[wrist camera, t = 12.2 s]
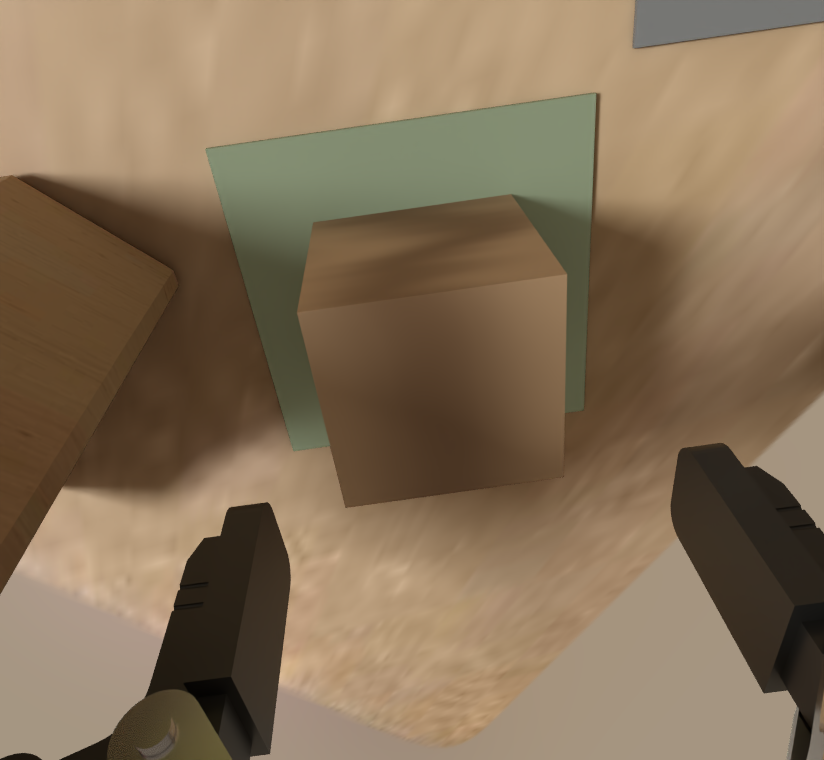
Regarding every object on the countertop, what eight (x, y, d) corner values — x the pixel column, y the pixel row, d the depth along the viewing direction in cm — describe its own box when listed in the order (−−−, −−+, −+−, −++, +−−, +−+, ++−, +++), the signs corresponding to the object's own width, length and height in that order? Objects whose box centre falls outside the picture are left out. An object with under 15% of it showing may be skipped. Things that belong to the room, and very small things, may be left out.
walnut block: (511, 194, 19) (567, 274, 14) (516, 362, 22) (563, 476, 17) (313, 222, 19) (296, 312, 14) (348, 386, 22) (345, 507, 17)
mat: (594, 92, 17) (596, 93, 17) (582, 408, 24) (583, 410, 23) (206, 148, 18) (205, 149, 17) (293, 448, 24) (293, 451, 23)
